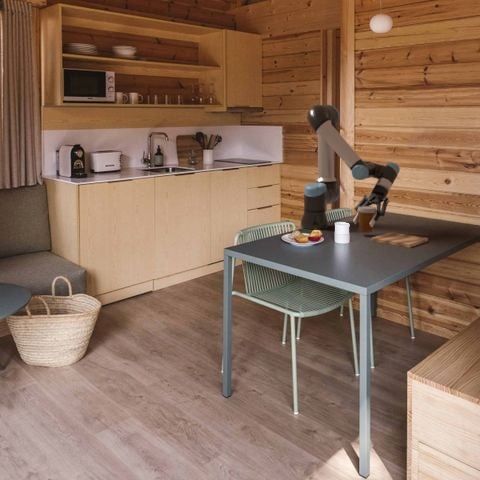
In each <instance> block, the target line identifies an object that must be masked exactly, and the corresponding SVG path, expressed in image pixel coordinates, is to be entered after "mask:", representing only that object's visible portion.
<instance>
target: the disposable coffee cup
mask: <svg viewBox="0 0 480 480" xmlns="http://www.w3.org/2000/svg"><path fill="white" fill-rule="evenodd" d="M357 210H358V218H359V220H358V228H359V230H358V231H359V232H361V233H362V232H363V233H371V232H373V228H374V226H373V227H371V226H370V224H369V223H370V221H371V220H372V218H373V216H374V214H375V213H376V212H377V206H376V207H375V206H372V205H370V206H359V207H358V209H357ZM376 214H377V213H376Z"/></svg>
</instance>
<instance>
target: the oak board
mask: <svg viewBox="0 0 480 480" xmlns="http://www.w3.org/2000/svg"><path fill="white" fill-rule="evenodd" d="M370 241H371V242H375V243H380V244H385V245H392V246H397V247H402V248H403V247H404V248H407V249H408V248H412V247H416V246H417V245H420V244H424V243H427V242H428V241H429V238H428V237H423V236H416V235H411V234H405V233H404V234H403V233H397V232H386V233H384V234H381V235H380V234H379V235H377V236H373V237H371V239H370Z"/></svg>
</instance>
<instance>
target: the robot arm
mask: <svg viewBox="0 0 480 480" xmlns="http://www.w3.org/2000/svg"><path fill="white" fill-rule="evenodd" d="M306 117H307V118H306V119H307V122H308V124H309V126H310V127H311V129H313V131H314V132H315V133H316V135H317V169H318V170H317V173H318V174H317V176H318V177H317V178H316V179H315V182H311V183H307V184H306V185H305V186H304V191H303V194H304V195H303V200H304V201H303V214H302V218H301V221H300V227H301V228H303V229H307V230H315V229H314V228H317V229H316V230H325V229H328V228H329V219H328V216H327V213H326V211H327V210H326V209H327V205H331V204H333V203H334V202H336V201H337V200H338V199H339V198H340V194H341V191H340V187H339V185H338V184H337V183H338V180H337V179H336V177H335V174H334V173H335V168H334V167H335V160H334V159H335V158H334V157H335V156H334V155H335V154H337V156H338V157H339V158H340V159H341V161H343V162H344V164H345V165H346V166H347V167H348V169H350V171H351V176H352V178H353V179H355V180H356V181H363V180H366V179H370V178H373V179H375V180H376V179H377V181H376V182H375V185H374V187H373V188H372V189H371V193H370V194H369V195H367V194H364V195H363V197H362V198H361V200H360V201H359V202H358V203H357V205H356V206H355V207H354V210H355V214H354V218H353V220H352V222H353V223H354V225H357V223H359V218H358V210H357V209H358V207H359V206H372V205H376V210H377V211H376V213H375V214H374V216H373V218H372V220H371V221H370V223H369V224H370V226H371V227H373V228H374V225H375V223H376V222H377V221H379V218H380V217H385V214H386V210H387V207H388V204H389V203H390V199H389V198H388V197H387V196H388V194H389V192H390V189H392V186H393V184H394V182H395V181H396V179H397V177H398V175H399V173H400V170H401V169H400V166H399V165H398V164H397V163H394V162H388V163H386V165H384V164H383V165H382V164H380V163H375V162H371V161H370V160H369V161H367V160H363V159H362V158H361V157H360V156H359V155H358V154H357V152H356V151H355V150H354V148H353V147H352V146H350V144H349V143H348V142H347V140H345V139H344V137H343V136H342V135H341V134H340V132H339V131H338V130H337V125H338V123H339V121H340V112H339V109H337V108H336V107H335V106H333V105H331V104H316V105H313V106H312V107H310V108H309V110H308V112H307V115H306ZM334 152H335V153H334ZM381 206H382V207H381Z"/></svg>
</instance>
